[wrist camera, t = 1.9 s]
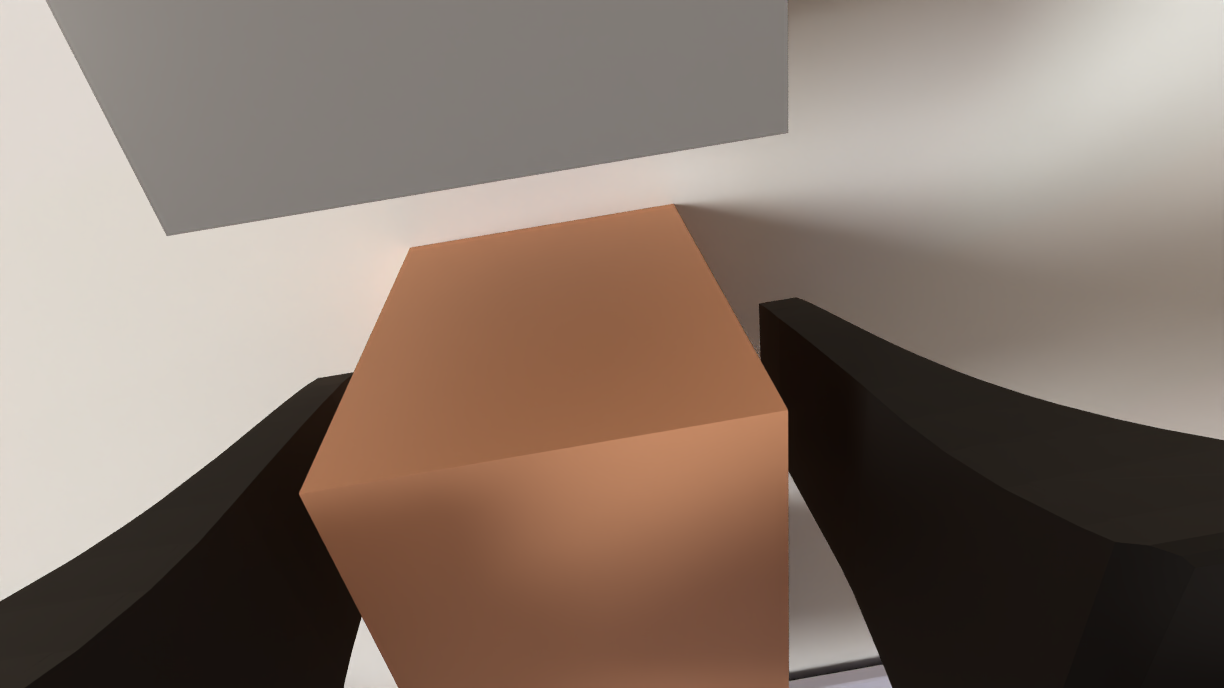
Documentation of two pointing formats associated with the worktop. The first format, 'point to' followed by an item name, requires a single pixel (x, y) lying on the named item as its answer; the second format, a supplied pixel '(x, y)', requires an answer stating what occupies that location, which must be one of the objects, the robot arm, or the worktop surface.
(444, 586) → the terracotta block
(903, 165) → the worktop surface
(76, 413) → the worktop surface
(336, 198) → the charcoal block
